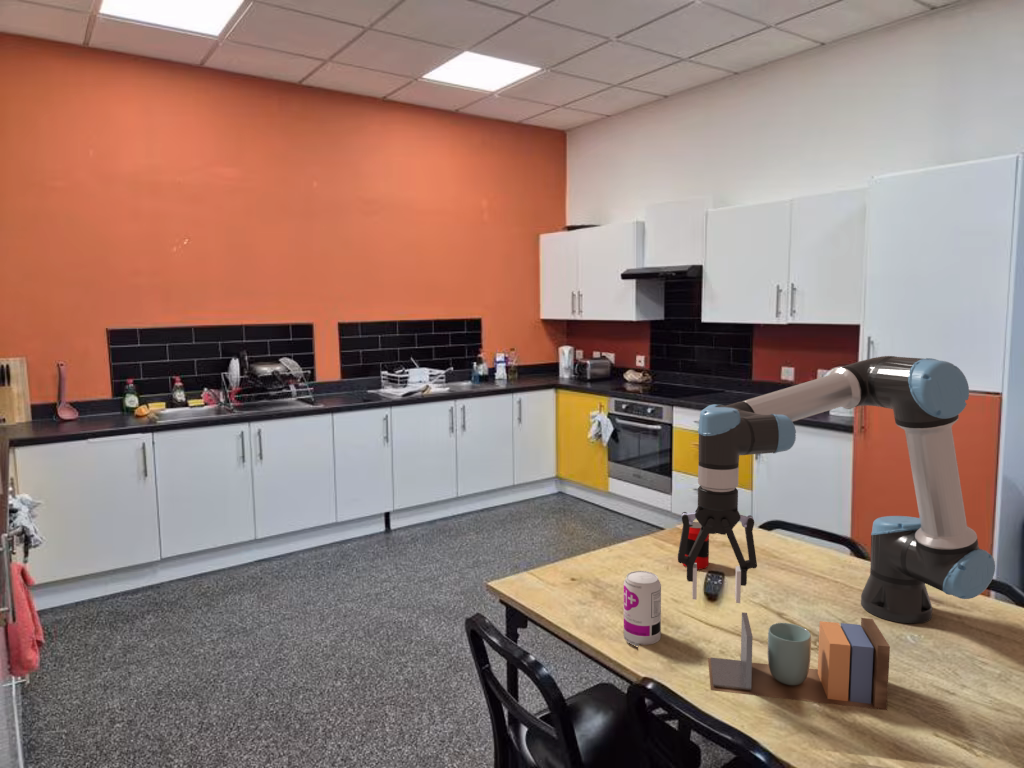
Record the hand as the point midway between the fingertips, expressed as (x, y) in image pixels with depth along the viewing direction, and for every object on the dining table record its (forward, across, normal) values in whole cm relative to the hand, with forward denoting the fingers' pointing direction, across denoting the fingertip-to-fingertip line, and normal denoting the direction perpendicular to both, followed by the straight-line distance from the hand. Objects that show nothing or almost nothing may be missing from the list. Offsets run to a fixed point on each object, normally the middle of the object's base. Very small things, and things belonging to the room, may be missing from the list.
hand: (715, 598), depth 132 cm
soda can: (+17, +2, -61) cm, 63 cm away
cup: (+16, -14, -1) cm, 21 cm away
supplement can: (+17, +15, -13) cm, 26 cm away
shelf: (+17, -14, 0) cm, 22 cm away
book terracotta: (+16, -22, 0) cm, 27 cm away
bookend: (+16, -3, 0) cm, 16 cm away
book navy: (+16, -26, 0) cm, 30 cm away
